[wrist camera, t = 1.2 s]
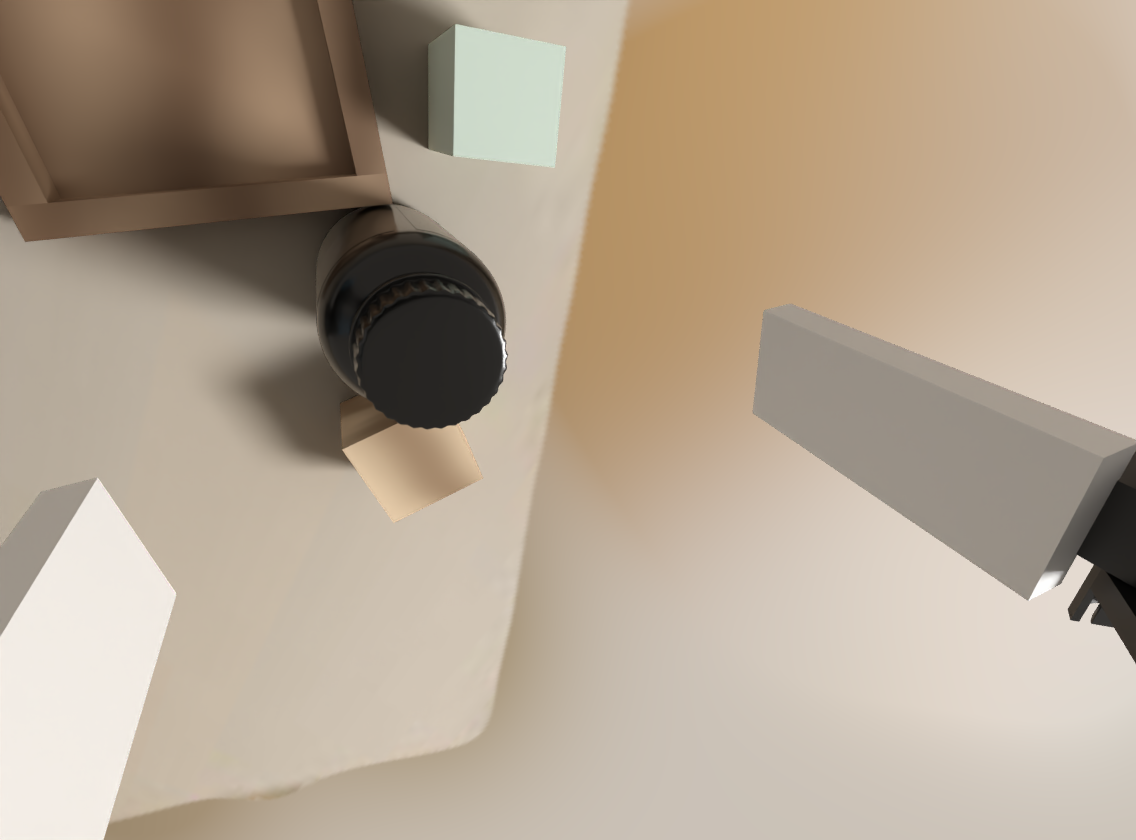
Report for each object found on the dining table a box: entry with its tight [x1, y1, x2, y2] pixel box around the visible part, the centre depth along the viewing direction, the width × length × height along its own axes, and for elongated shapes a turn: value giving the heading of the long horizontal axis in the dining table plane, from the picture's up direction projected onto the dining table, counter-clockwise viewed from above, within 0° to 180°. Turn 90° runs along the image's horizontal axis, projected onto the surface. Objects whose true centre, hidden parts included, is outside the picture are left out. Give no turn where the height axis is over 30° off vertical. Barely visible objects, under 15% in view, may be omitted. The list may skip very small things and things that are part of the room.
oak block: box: [340, 395, 483, 523], centre depth 28 cm, size 5×5×5 cm
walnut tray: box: [0, 0, 393, 242], centre depth 19 cm, size 13×13×2 cm
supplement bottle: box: [316, 204, 508, 430], centre depth 22 cm, size 7×7×12 cm
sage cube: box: [428, 24, 566, 168], centre depth 22 cm, size 4×4×6 cm
